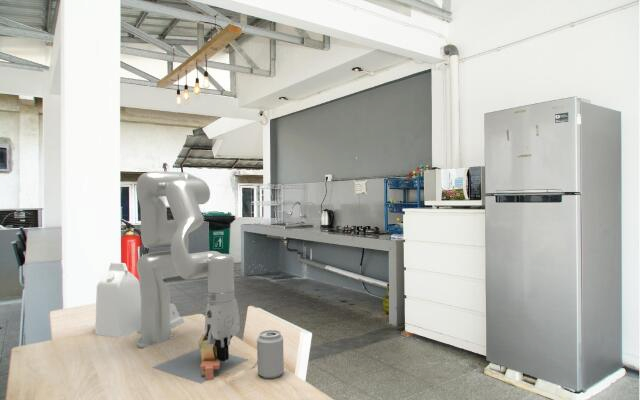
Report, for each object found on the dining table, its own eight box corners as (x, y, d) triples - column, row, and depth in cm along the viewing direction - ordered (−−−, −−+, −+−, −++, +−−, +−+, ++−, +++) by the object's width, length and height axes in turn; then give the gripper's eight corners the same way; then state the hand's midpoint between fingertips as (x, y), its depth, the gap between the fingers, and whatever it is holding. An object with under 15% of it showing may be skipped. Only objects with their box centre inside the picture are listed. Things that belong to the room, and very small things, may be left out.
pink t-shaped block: (202, 377, 124) (201, 361, 124) (220, 376, 125) (220, 360, 124) (199, 385, 119) (199, 368, 119) (218, 384, 120) (218, 367, 119)
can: (287, 370, 128) (287, 329, 128) (277, 381, 121) (276, 338, 121) (264, 367, 131) (264, 327, 130) (252, 377, 124) (252, 335, 123)
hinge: (157, 335, 161) (149, 309, 162) (147, 338, 162) (139, 312, 163) (184, 322, 177) (177, 298, 178) (175, 325, 178) (167, 301, 179)
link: (206, 352, 138) (202, 334, 138) (228, 348, 139) (224, 330, 139) (195, 378, 121) (191, 357, 121) (220, 373, 122) (216, 352, 121)
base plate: (152, 372, 128) (152, 367, 128) (201, 351, 144) (201, 347, 144) (200, 388, 117) (200, 383, 117) (248, 364, 133) (248, 359, 133)
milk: (143, 328, 170) (141, 261, 169) (120, 337, 159) (118, 266, 158) (119, 325, 174) (117, 260, 173) (95, 334, 163) (93, 264, 163)
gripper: (211, 304, 119) (213, 371, 120) (248, 293, 132) (249, 353, 132) (192, 301, 123) (194, 365, 124) (230, 290, 136) (231, 349, 136)
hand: (222, 359), depth 128 cm, fingers closed
